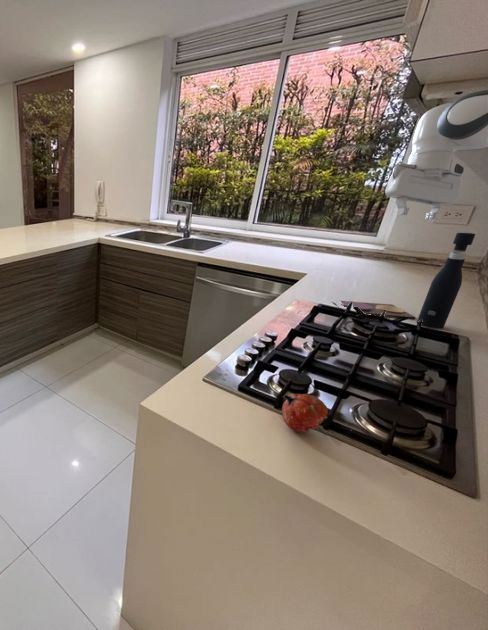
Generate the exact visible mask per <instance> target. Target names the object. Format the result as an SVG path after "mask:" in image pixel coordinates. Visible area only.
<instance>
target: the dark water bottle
mask: <svg viewBox="0 0 488 630" xmlns="http://www.w3.org/2000/svg"><path fill="white" fill-rule="evenodd" d="M476 235H477V234H476V233H473V232H456V233H455V237H454V239H453V241H452V244H453V245H454V248H453V249H452V251H451V252H450V253H449V255H448V257H447V258H446V260H445V263H444V265H443V267H442V268H441V269H440V270H439V271H438V272H437V273H436V274H435V276H434V278H433V279H432V281H431V283H430V286H429V289H428V291H427V294H426V296H425V299H424V302H423V304H422V306H421V310H420V312H419V314H418V317H417V319H416V324H417V323H418V321H419V320H420V319H421V318H423V322H422V325H421V326H423V327H425V326H426V327H425V328H430V329H439V330H440V329H444V328H445V326H446V323H447V321H448V318H449V315H450V314H451V311H452V308H453V306H454V304H455V301H456V298H457V296H458V294H459V291H460V289H461V287H462V283H463V271H462V270H463V269H462V268H463V266H464V263H465V261H466V259H465V257H466V256H467V255H466V251H467V248H468V246H471V245H472V244H473V243H474V240H475V237H476Z"/></svg>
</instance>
